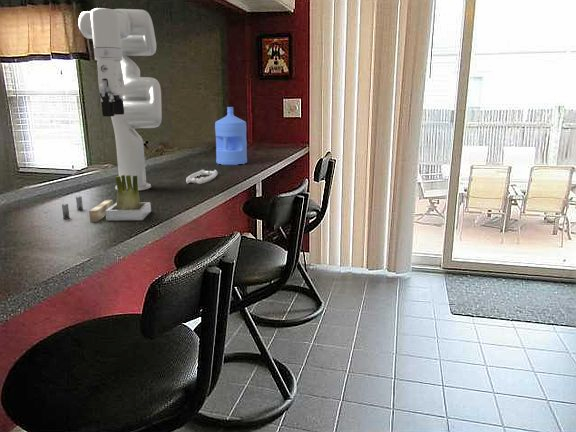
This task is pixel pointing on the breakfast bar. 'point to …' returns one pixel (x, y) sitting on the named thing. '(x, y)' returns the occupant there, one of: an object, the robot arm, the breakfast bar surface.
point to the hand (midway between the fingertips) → (113, 115)
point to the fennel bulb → (127, 193)
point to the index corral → (128, 212)
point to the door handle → (202, 179)
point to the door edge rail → (99, 210)
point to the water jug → (231, 140)
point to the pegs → (66, 209)
